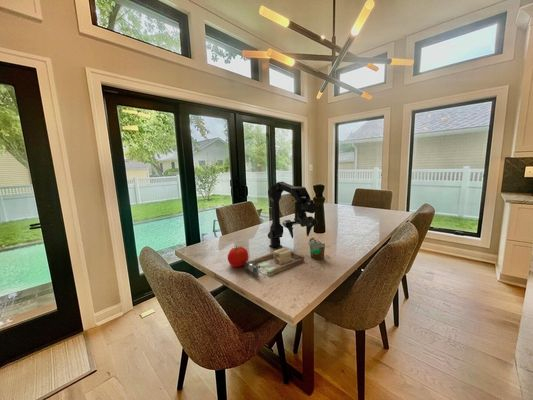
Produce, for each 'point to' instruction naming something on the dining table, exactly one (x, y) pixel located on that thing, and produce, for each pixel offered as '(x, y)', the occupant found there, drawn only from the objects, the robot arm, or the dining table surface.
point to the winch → (252, 268)
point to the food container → (316, 249)
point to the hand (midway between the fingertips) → (300, 237)
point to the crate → (282, 256)
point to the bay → (274, 270)
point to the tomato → (237, 256)
